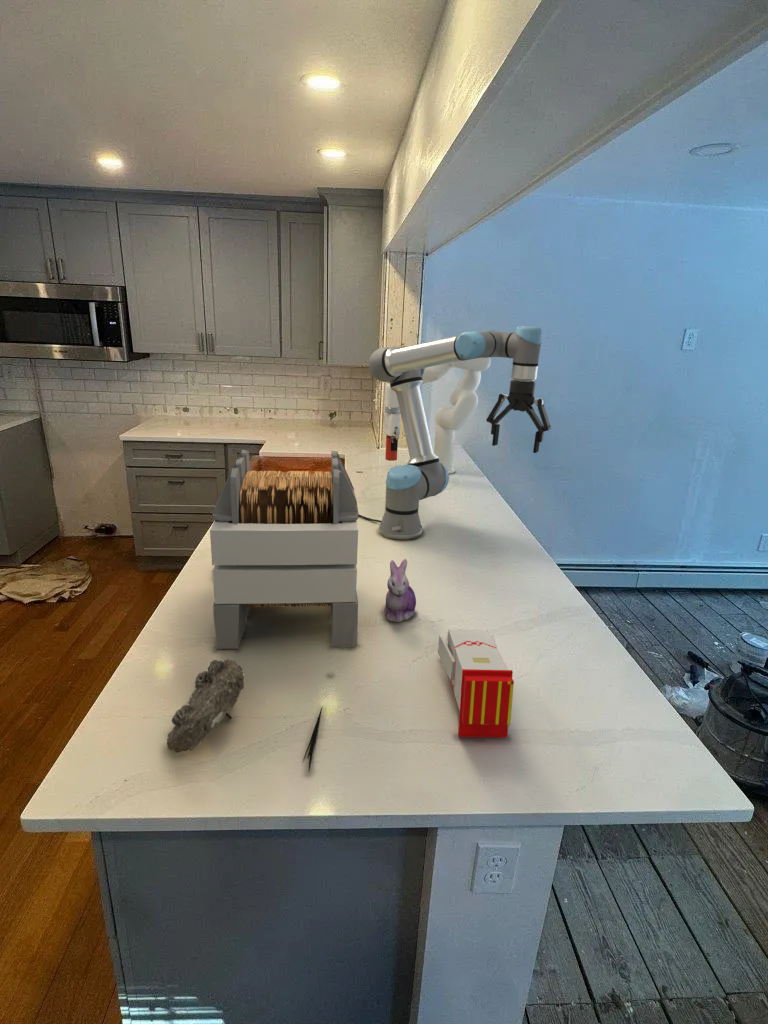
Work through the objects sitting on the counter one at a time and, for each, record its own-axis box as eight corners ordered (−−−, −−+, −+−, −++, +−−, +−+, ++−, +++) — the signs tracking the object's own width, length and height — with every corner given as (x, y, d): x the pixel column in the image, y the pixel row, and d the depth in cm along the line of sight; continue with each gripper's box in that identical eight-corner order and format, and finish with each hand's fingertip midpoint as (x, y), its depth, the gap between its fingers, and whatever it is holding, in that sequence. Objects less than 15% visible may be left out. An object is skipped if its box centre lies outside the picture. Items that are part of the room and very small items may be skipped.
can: (386, 460, 266) (387, 439, 262) (384, 457, 271) (385, 436, 267) (397, 460, 266) (398, 439, 263) (395, 457, 272) (396, 436, 268)
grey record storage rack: (234, 582, 160) (226, 440, 146) (350, 581, 163) (353, 443, 150) (213, 651, 128) (201, 478, 114) (357, 647, 132) (363, 480, 118)
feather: (331, 679, 122) (336, 673, 122) (307, 777, 96) (313, 769, 95) (324, 675, 122) (329, 669, 121) (298, 772, 95) (304, 764, 95)
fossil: (192, 660, 117) (244, 628, 112) (224, 691, 120) (276, 661, 115) (142, 746, 98) (202, 712, 93) (182, 779, 101) (242, 748, 96)
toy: (488, 613, 130) (523, 677, 101) (484, 667, 133) (517, 744, 104) (435, 612, 130) (455, 676, 101) (432, 666, 133) (451, 743, 103)
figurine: (392, 627, 141) (395, 572, 136) (374, 608, 149) (376, 556, 144) (425, 619, 145) (429, 566, 140) (405, 601, 154) (408, 550, 149)
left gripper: (568, 383, 168) (557, 453, 175) (490, 375, 181) (483, 440, 188) (560, 385, 162) (549, 457, 169) (480, 376, 175) (473, 444, 182)
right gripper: (379, 407, 267) (378, 445, 273) (392, 414, 252) (390, 453, 258) (394, 407, 270) (392, 444, 276) (407, 413, 254) (405, 453, 261)
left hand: (514, 448), depth 179 cm, fingers open, 13 cm apart
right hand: (391, 448), depth 267 cm, fingers closed on can, 5 cm apart
